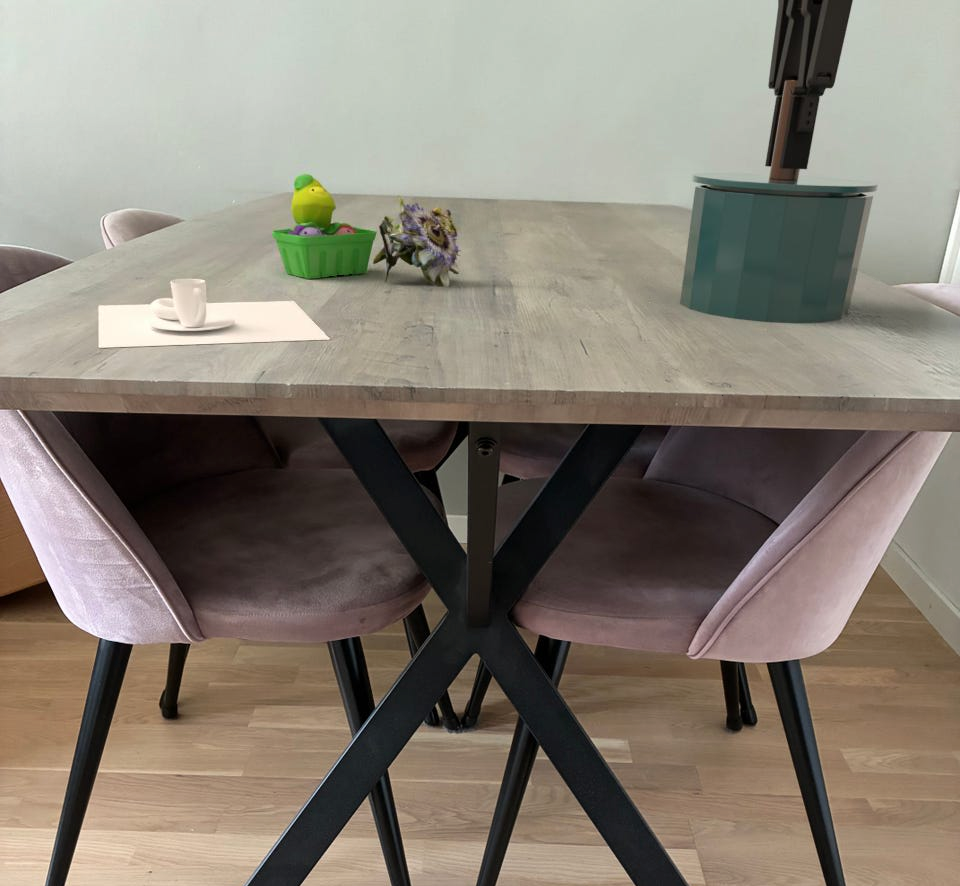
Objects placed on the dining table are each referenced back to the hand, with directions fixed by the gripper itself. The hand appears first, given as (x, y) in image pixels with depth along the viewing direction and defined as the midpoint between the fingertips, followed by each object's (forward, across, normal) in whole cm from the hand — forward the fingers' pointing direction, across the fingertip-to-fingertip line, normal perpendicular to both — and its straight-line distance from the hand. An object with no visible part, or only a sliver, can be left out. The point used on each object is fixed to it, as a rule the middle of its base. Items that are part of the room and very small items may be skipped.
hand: (785, 167), depth 100 cm
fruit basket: (+15, -24, -49) cm, 57 cm away
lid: (+2, 0, 0) cm, 2 cm away
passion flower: (+15, -16, -38) cm, 44 cm away
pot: (+15, 0, 0) cm, 15 cm away
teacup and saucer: (+15, +8, -60) cm, 62 cm away
